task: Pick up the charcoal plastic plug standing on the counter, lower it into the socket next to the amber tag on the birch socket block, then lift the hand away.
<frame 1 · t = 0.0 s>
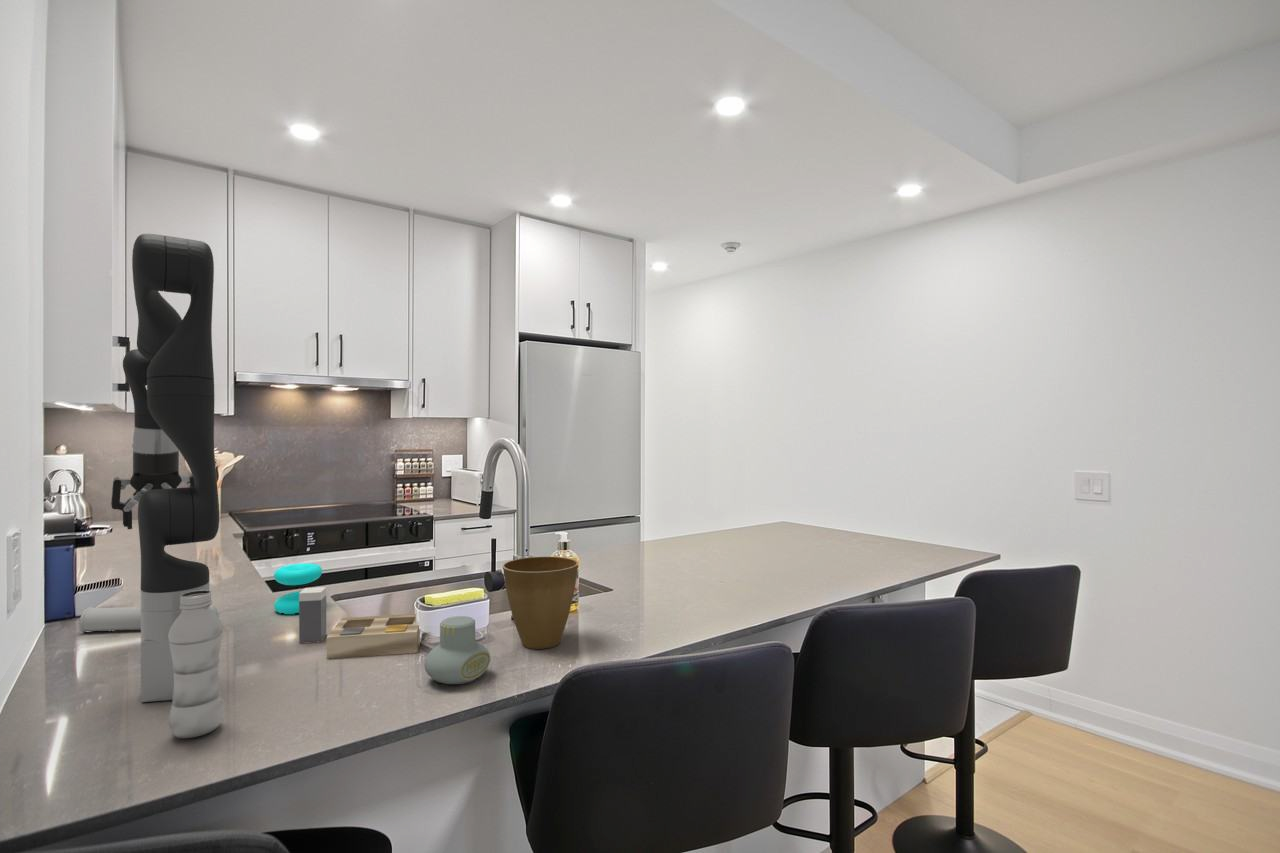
hand: (156, 526, 135), 22 cm above the counter, tool pointing down, fingers open, 8 cm apart
plastic bottle: (197, 734, 93), on the counter
plant pot: (540, 643, 131), on the counter
tube: (153, 630, 139), on the counter
air freshener: (457, 679, 113), on the counter
donuts: (298, 610, 153), on the counter
plug: (313, 639, 132), on the counter
socket block: (378, 644, 129), on the counter
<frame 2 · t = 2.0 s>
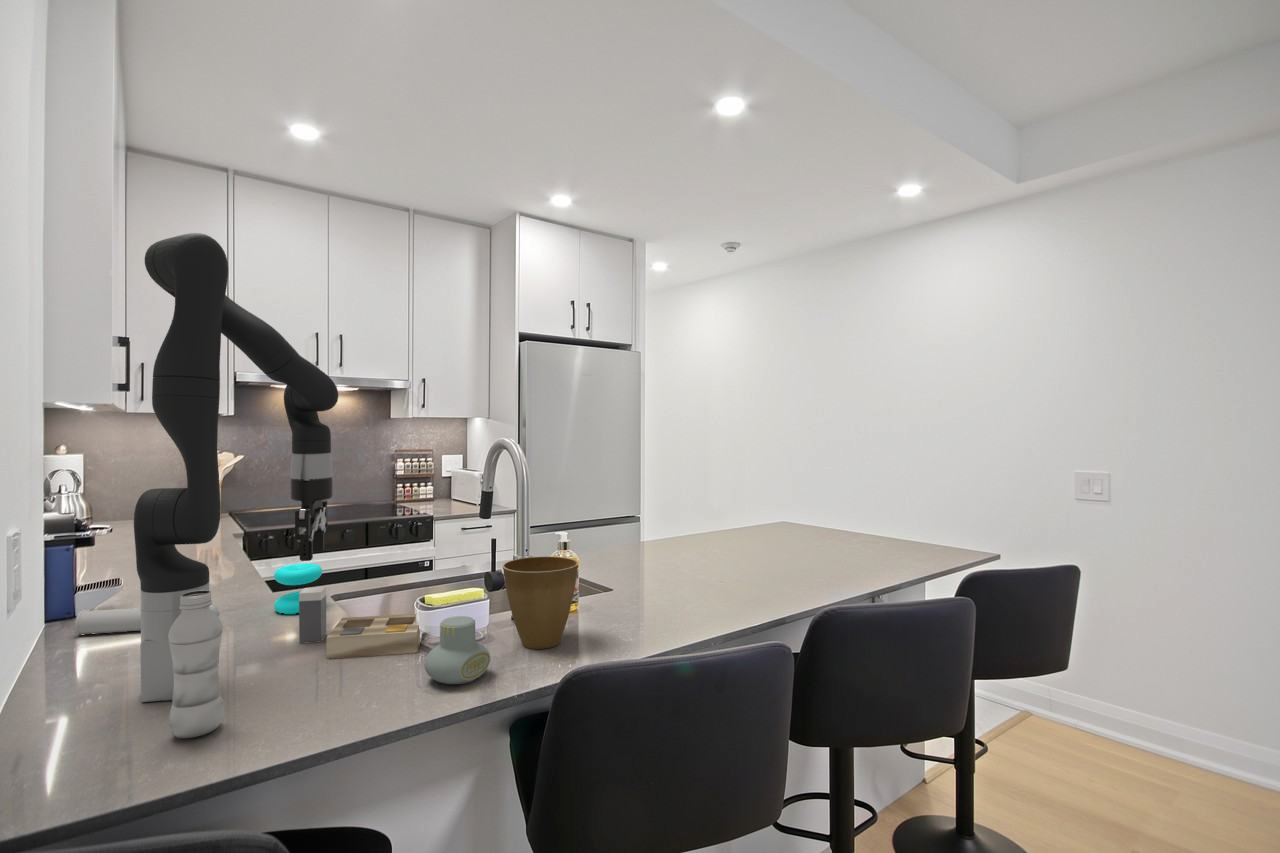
hand: (312, 555, 132), 17 cm above the counter, tool pointing down, fingers open, 8 cm apart
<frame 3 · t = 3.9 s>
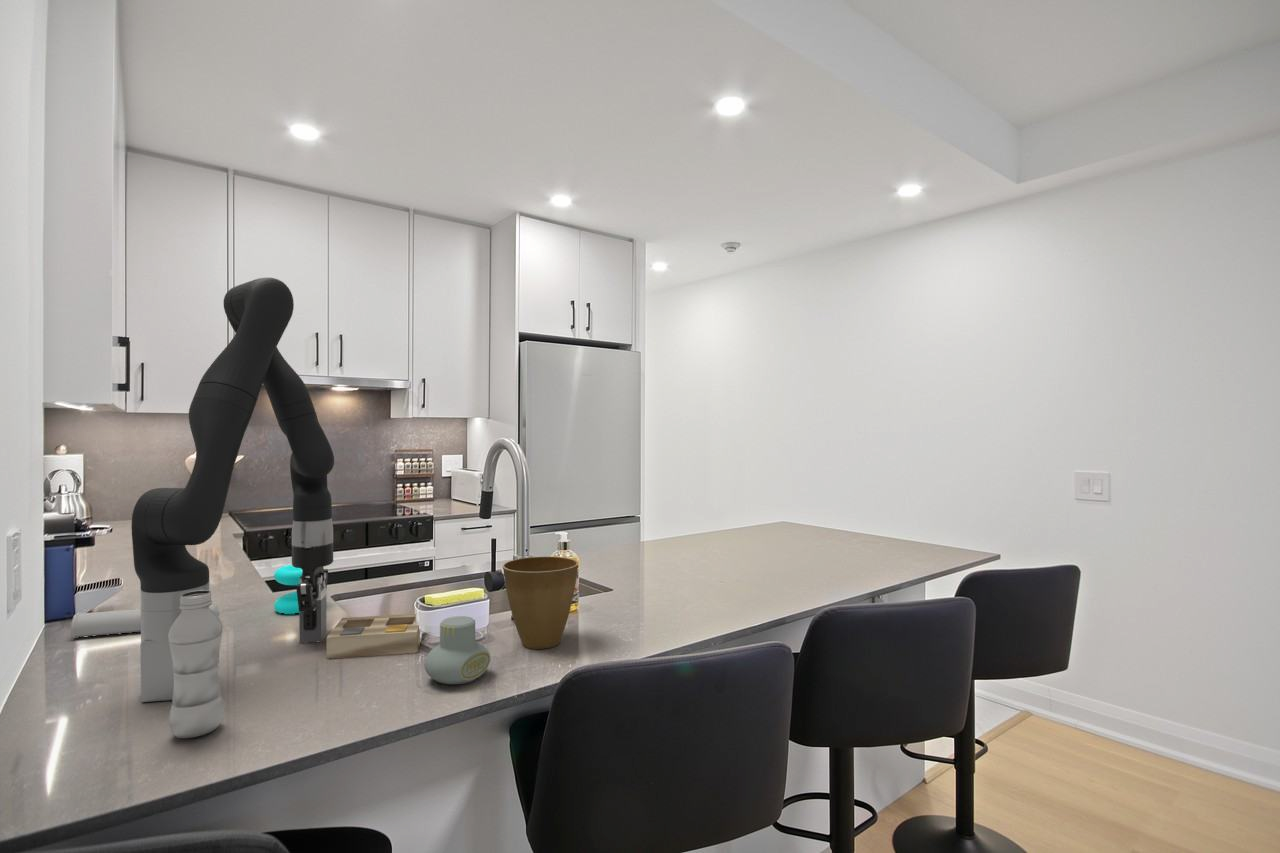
hand: (313, 625, 132), 3 cm above the counter, tool pointing down, fingers closed on plug, 4 cm apart
plug: (313, 639, 133), on the counter, touching gripper
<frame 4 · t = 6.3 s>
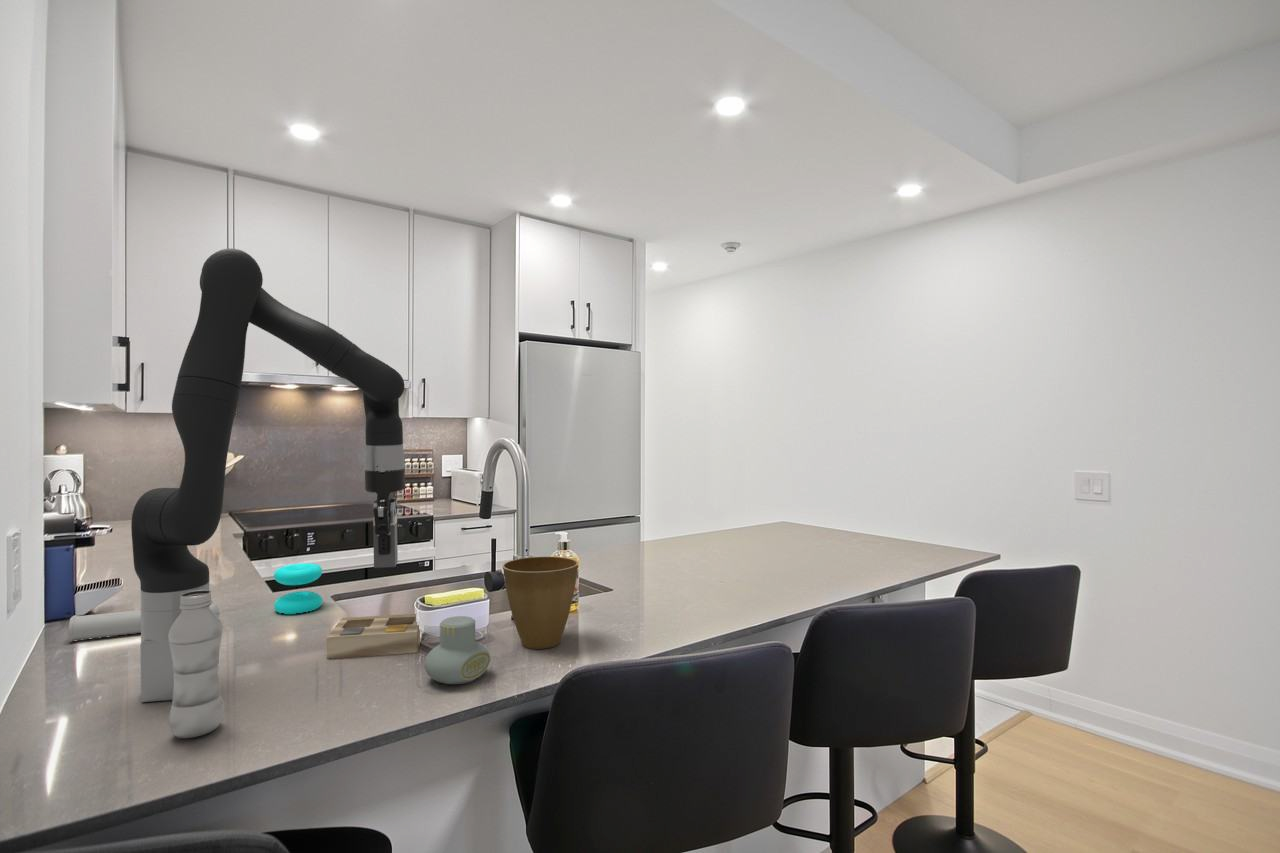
hand: (386, 551, 132), 18 cm above the counter, tool pointing down, fingers closed on plug, 4 cm apart
plug: (386, 564, 133), point 15 cm above the counter, touching gripper
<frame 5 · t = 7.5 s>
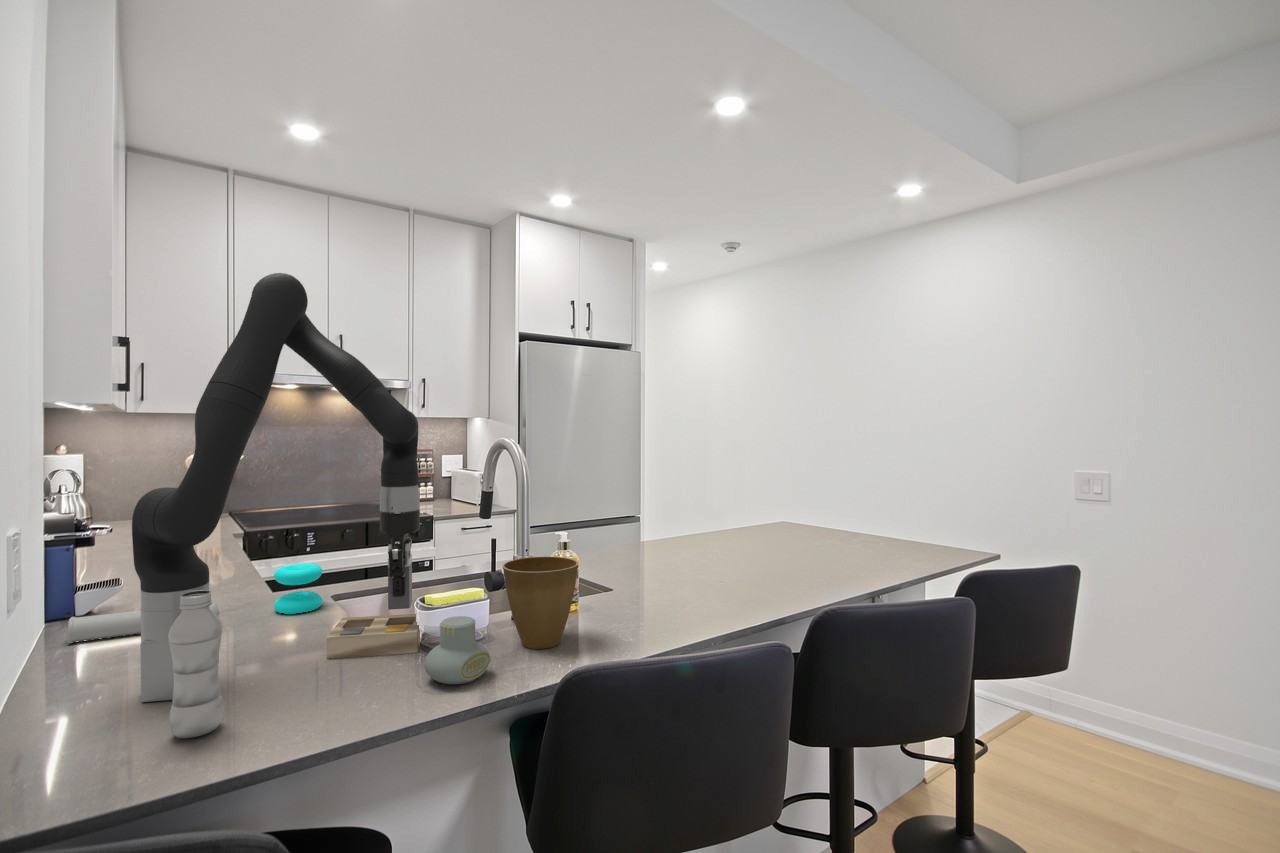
hand: (400, 592, 132), 10 cm above the counter, tool pointing down, fingers closed on plug, 4 cm apart
plug: (400, 606, 132), point 7 cm above the counter, touching gripper
when the fingers open (6 cm above the counter, at t = 8.7 s): plug drops 3 cm, resting in socket block.
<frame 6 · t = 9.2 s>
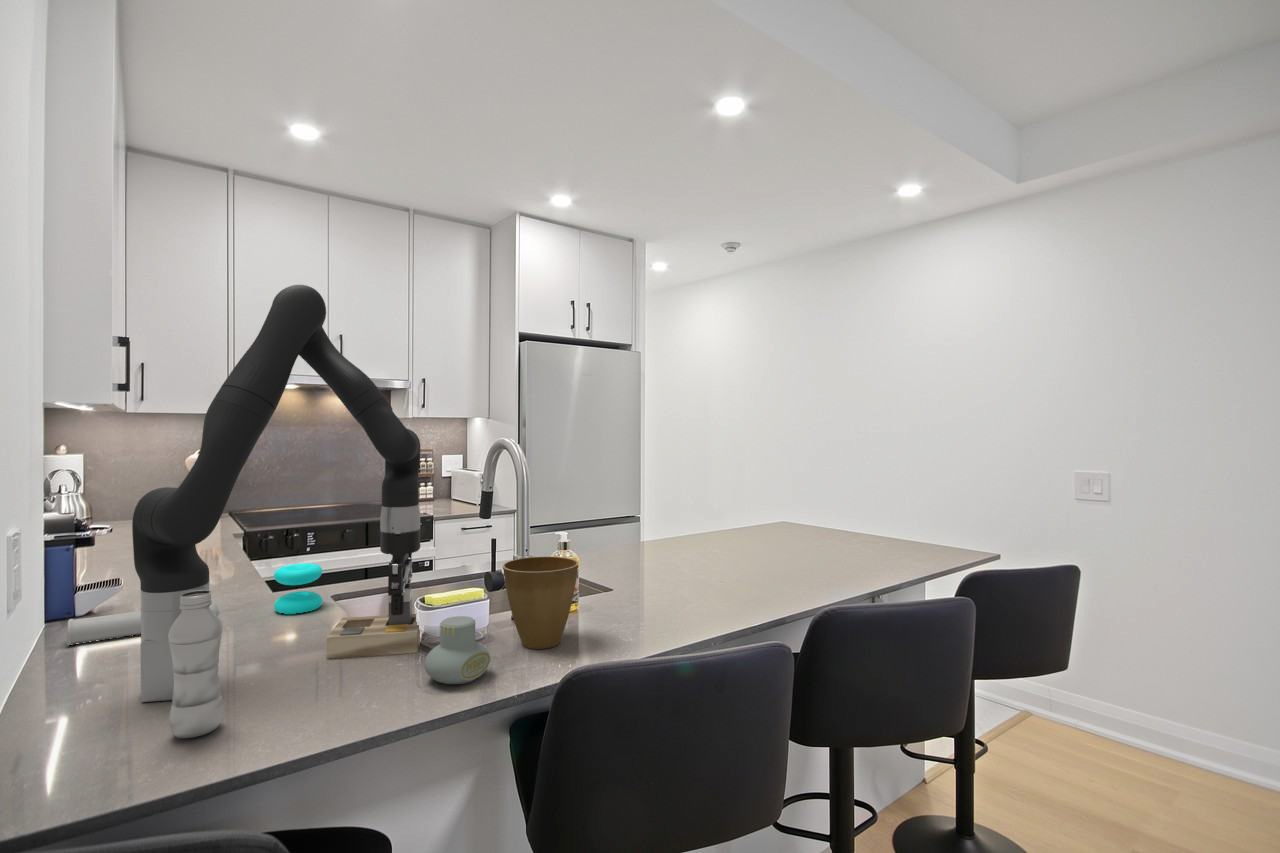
hand: (400, 608, 132), 7 cm above the counter, tool pointing down, fingers open, 8 cm apart
plug: (400, 640, 132), resting in socket block
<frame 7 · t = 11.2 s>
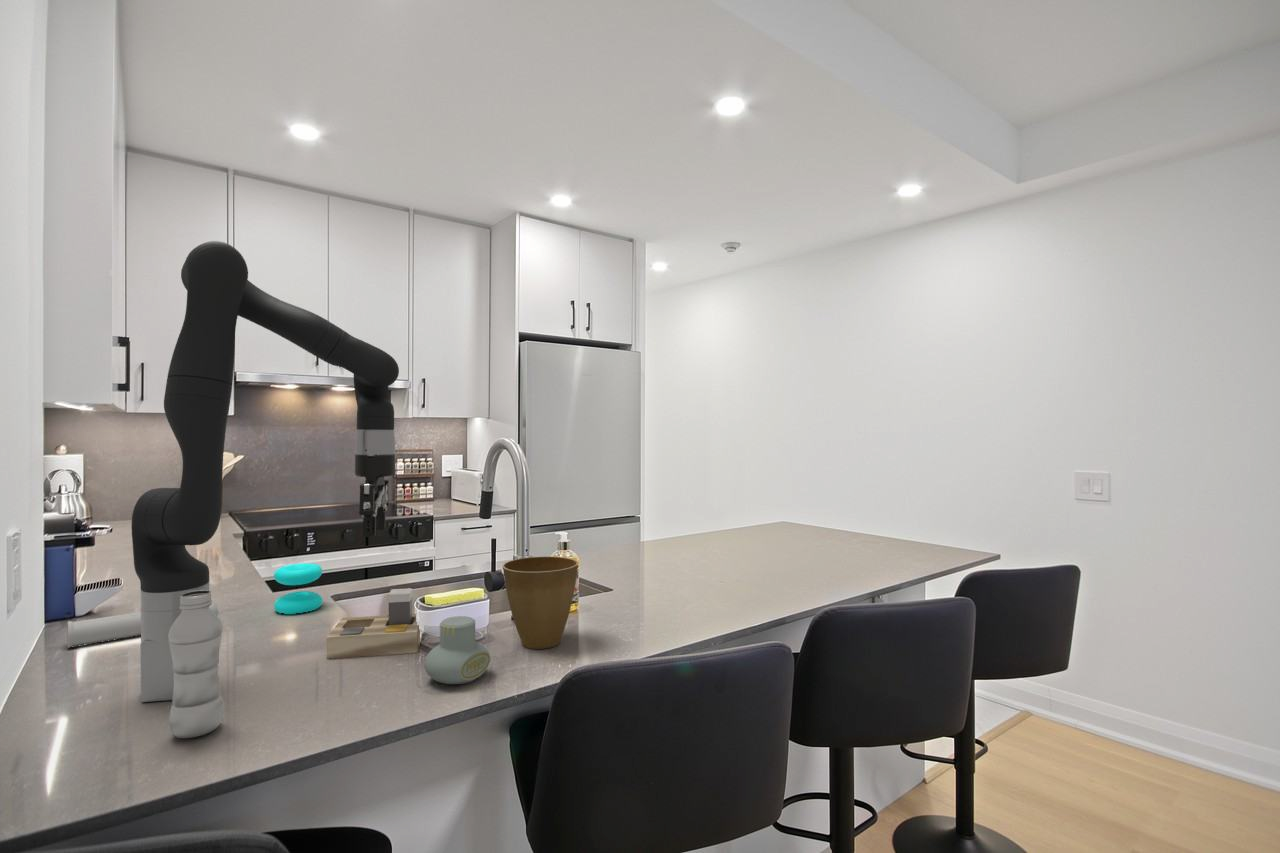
hand: (374, 533, 132), 22 cm above the counter, tool pointing down, fingers open, 8 cm apart
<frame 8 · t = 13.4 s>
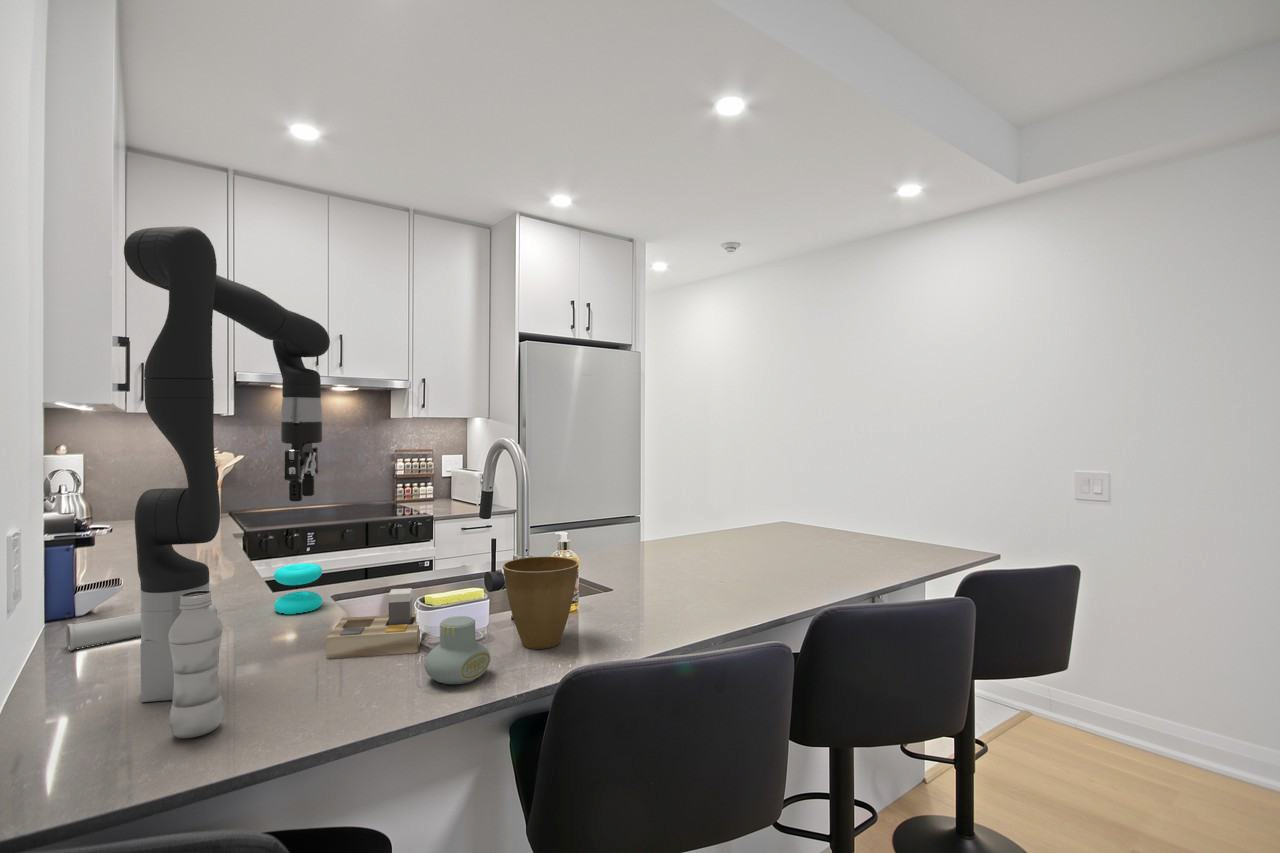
hand: (302, 498, 135), 28 cm above the counter, tool pointing down, fingers open, 8 cm apart
at the end: plug 0.1 cm from the target spot on the socket block, point 0.0 cm above the socket block's base; plug tilted 0°; the gripper is holding nothing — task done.
